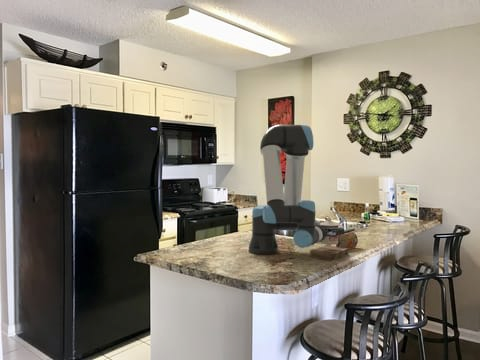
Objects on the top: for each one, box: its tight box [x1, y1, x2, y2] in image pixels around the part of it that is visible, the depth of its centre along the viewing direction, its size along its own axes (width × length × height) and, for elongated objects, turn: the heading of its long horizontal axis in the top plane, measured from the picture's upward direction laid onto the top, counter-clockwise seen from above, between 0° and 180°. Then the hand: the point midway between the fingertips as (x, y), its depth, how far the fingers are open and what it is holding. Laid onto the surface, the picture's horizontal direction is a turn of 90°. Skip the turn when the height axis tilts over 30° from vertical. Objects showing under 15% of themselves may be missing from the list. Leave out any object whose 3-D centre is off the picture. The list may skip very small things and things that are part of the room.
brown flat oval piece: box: [335, 232, 359, 251], centre depth 203 cm, size 15×3×8 cm, turn 126°
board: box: [309, 244, 349, 261], centre depth 188 cm, size 16×12×3 cm
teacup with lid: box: [319, 218, 340, 246], centre depth 187 cm, size 12×9×12 cm
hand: (333, 227), depth 191 cm, fingers closed on teacup with lid, 9 cm apart
